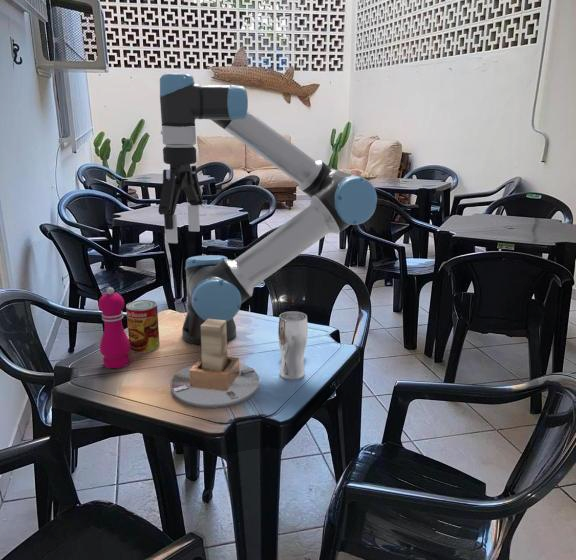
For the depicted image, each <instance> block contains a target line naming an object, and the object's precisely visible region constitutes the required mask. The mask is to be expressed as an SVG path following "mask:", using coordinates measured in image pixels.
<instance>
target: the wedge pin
mask: <svg viewBox="0 0 576 560" xmlns="http://www.w3.org/2000/svg"><path fill="white" fill-rule="evenodd" d="M200 347H201V348H200V349H201V357H202V369H204V370H213V371H222V372H224V371H225V369H226V368H227V357H228V341H227V330H226V320H216V319H207V320H206V321H205V322H204V323H203V324H202V325H201V345H200Z"/></svg>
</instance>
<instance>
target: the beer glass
mask: <svg viewBox="0 0 576 560" xmlns="http://www.w3.org/2000/svg"><path fill="white" fill-rule="evenodd" d="M278 318H279V319H278V320H279V321H278V326H277V327H278V333H277V335H278V337H277V339H278V345H279V351H280V356H281V358H280V359H281V364H280V369H279V375H280V377H282V378H283V379H284V380H285V379H286V380H289V381H290V380H292V381H293V380H294V381H295V380H299V379H301V378H303V377H305V375H306V374H305V373H306V371H305V366H304V365H305V364H304V359H305V352H306V347H307V343H308V334H309V333H308V331H309V330H308V325H309V324H308V315H307V314H306V313H304V312H301V311H285V312H281V313H280V314H279V316H278Z"/></svg>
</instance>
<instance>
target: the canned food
mask: <svg viewBox="0 0 576 560" xmlns="http://www.w3.org/2000/svg"><path fill="white" fill-rule="evenodd" d="M125 305H126V307H125V309H126V319H127V332H128V333H127V334H128V339H129V341H130V351H131V352H132V353H133V352H134V353H137V354H138V353H139V354H145V353H151V352H154V351H156V350H157V349H159V348H160V345H161V344H160V332H159V331H160V330H159V329H160V327H159V316H158V315H159V314H158V303H157V302H156V301H154V300H150V299H139V300H134V301H132V302H129V303H126V304H125Z"/></svg>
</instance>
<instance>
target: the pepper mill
mask: <svg viewBox="0 0 576 560" xmlns="http://www.w3.org/2000/svg"><path fill="white" fill-rule="evenodd" d="M124 307H125V299H124V297H123V296H122V295H121V294H119V293H115V289H114V288H113V287H111V286H110V287H107V289H106V293H105V294H103V295H101V297H100V298H99V299H98V309H99V310H100V312H102V313H101V320H102V321H103V324H104V325H103V326H104V331H103V334H102V337H101V340H100V344H99V351H100V353H101V355H102V356H104V357H102V362H103V366H104V367H105V368H106V367H108V368H107V369H110V368H117V369H122V368H124V366H125V367H126V365H127V366H128V365H129V364H130V354H129V352H130V351H131V350H130V341H129V336H127V334H126V332H125V330H124V329H125V328H124V327H123V321H122V319H124V315H123V314H124V312H123V310H124ZM121 367H122V368H121Z"/></svg>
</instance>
